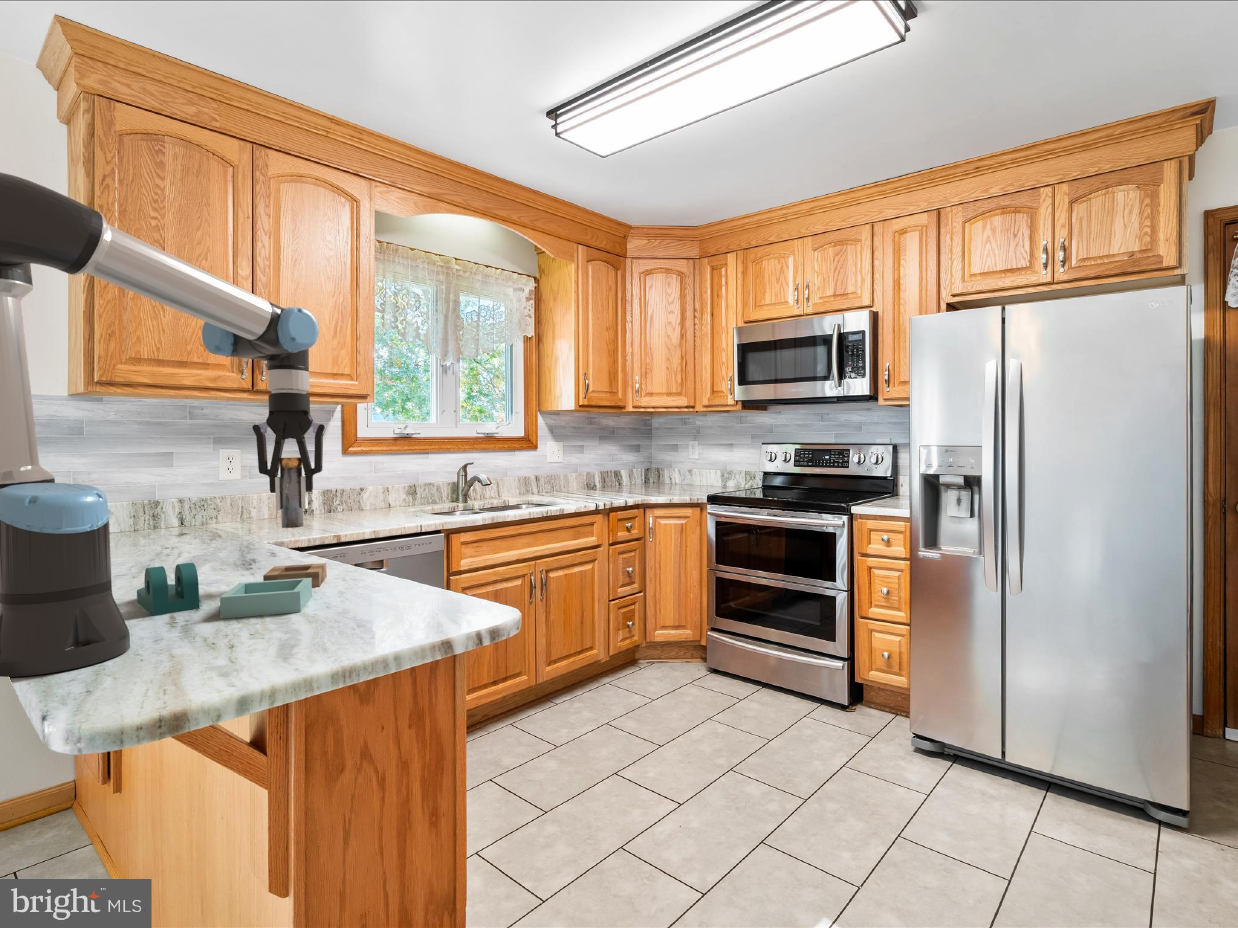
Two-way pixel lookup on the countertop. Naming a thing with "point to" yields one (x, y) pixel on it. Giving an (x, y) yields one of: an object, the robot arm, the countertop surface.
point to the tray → (266, 598)
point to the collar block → (298, 573)
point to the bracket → (170, 590)
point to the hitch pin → (291, 492)
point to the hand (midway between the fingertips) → (292, 508)
